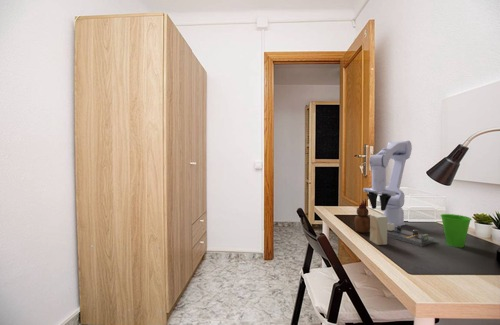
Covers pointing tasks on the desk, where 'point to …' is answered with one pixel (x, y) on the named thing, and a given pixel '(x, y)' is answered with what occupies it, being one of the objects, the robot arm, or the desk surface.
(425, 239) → the console
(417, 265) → the desk surface
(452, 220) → the cup
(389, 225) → the fader
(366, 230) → the wooden figurine
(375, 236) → the box
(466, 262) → the desk surface
